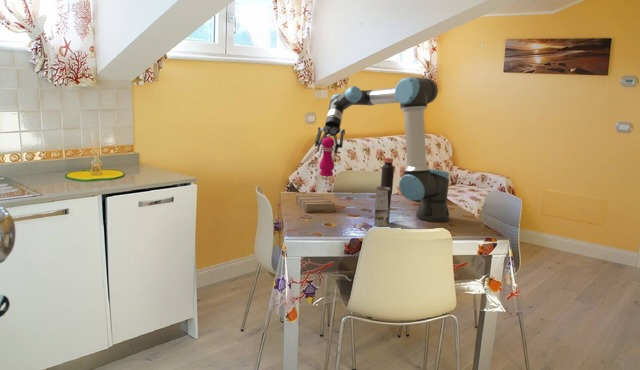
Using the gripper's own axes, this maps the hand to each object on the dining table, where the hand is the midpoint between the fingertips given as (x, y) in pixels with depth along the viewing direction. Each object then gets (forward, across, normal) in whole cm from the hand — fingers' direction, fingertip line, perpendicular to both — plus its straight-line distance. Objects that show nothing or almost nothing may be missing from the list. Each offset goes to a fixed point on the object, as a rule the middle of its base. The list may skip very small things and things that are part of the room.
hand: (325, 157), depth 250 cm
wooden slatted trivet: (+17, +5, -19) cm, 26 cm away
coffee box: (+31, -30, -5) cm, 43 cm away
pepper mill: (+4, 0, -9) cm, 10 cm away
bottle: (-21, -27, -58) cm, 67 cm away
